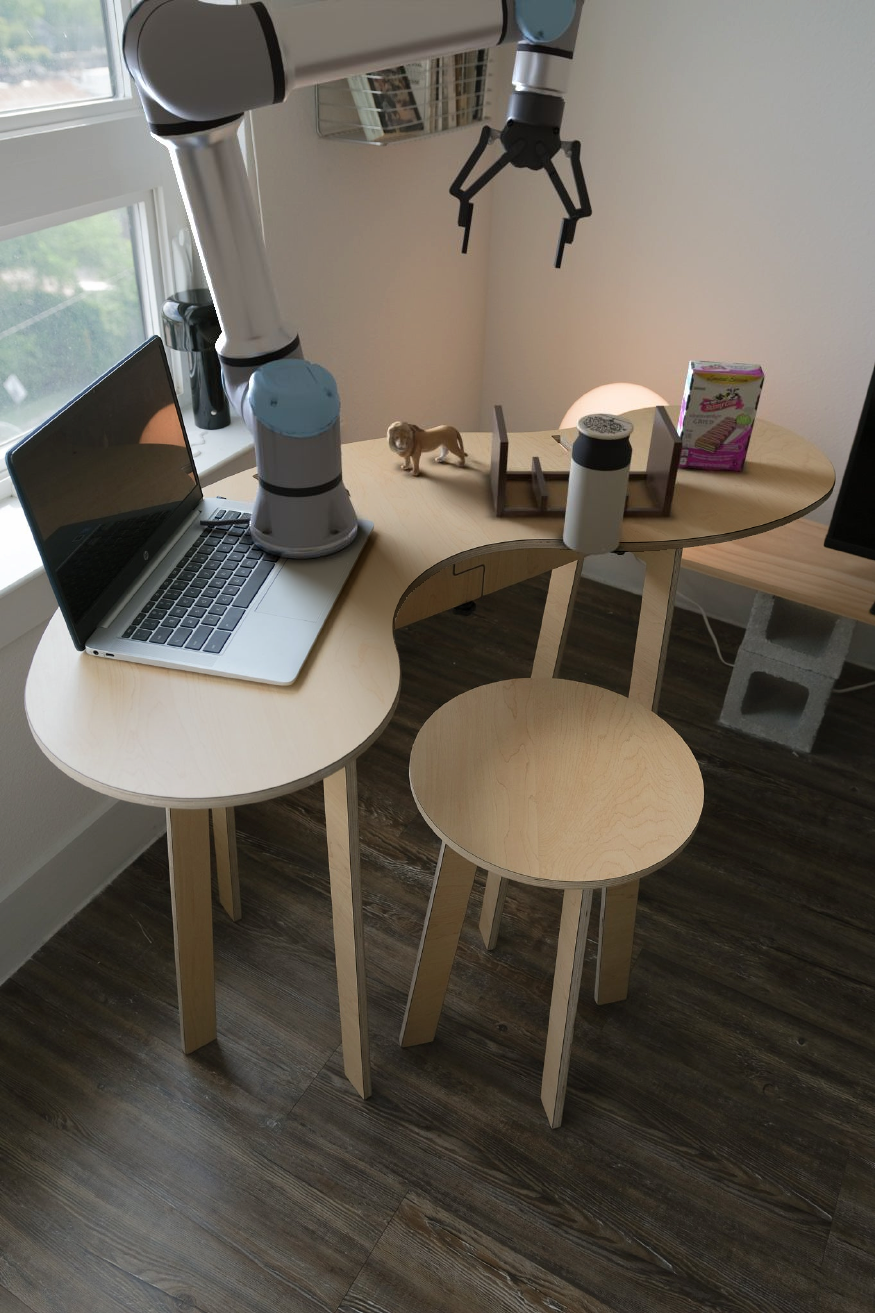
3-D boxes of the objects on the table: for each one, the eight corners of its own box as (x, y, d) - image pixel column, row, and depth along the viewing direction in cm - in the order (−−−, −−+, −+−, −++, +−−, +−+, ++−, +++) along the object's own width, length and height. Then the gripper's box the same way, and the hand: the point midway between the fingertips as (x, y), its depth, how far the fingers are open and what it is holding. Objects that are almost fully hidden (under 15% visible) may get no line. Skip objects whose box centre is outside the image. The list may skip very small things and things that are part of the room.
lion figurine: (396, 485, 156) (396, 431, 151) (380, 471, 160) (379, 418, 154) (475, 464, 162) (478, 411, 157) (458, 451, 166) (459, 400, 161)
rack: (496, 516, 149) (500, 441, 141) (490, 476, 159) (493, 404, 152) (669, 516, 149) (682, 442, 142) (652, 476, 160) (663, 405, 152)
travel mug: (593, 563, 139) (609, 442, 128) (551, 540, 143) (562, 422, 132) (630, 543, 143) (648, 425, 132) (587, 522, 148) (601, 407, 137)
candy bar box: (674, 469, 162) (691, 370, 152) (671, 455, 166) (688, 359, 156) (744, 473, 161) (766, 374, 151) (740, 459, 165) (761, 362, 155)
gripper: (625, 107, 138) (592, 269, 148) (447, 78, 137) (425, 243, 147) (633, 107, 131) (598, 276, 142) (446, 76, 130) (424, 249, 140)
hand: (510, 260), depth 144 cm, fingers open, 13 cm apart
